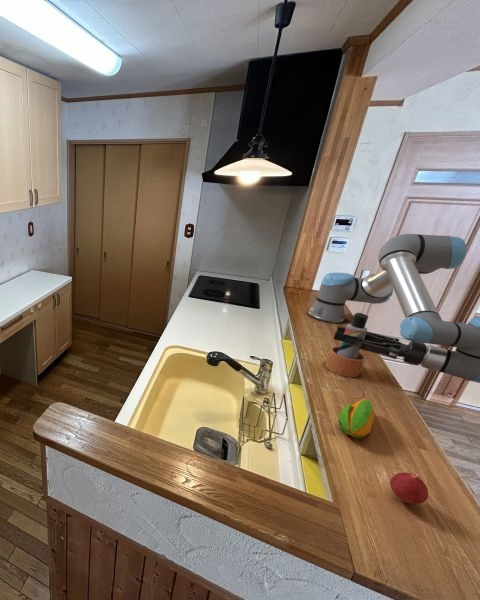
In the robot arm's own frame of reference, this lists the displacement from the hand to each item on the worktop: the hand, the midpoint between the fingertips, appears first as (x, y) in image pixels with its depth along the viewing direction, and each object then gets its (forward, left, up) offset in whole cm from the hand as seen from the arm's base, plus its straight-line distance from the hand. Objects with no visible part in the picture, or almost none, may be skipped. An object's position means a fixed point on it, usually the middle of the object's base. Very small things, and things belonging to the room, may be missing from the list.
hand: (336, 332), depth 120 cm
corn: (+6, +35, -14) cm, 39 cm away
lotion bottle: (-5, +2, -11) cm, 12 cm away
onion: (+8, +60, -14) cm, 63 cm away
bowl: (-5, +2, -14) cm, 15 cm away
